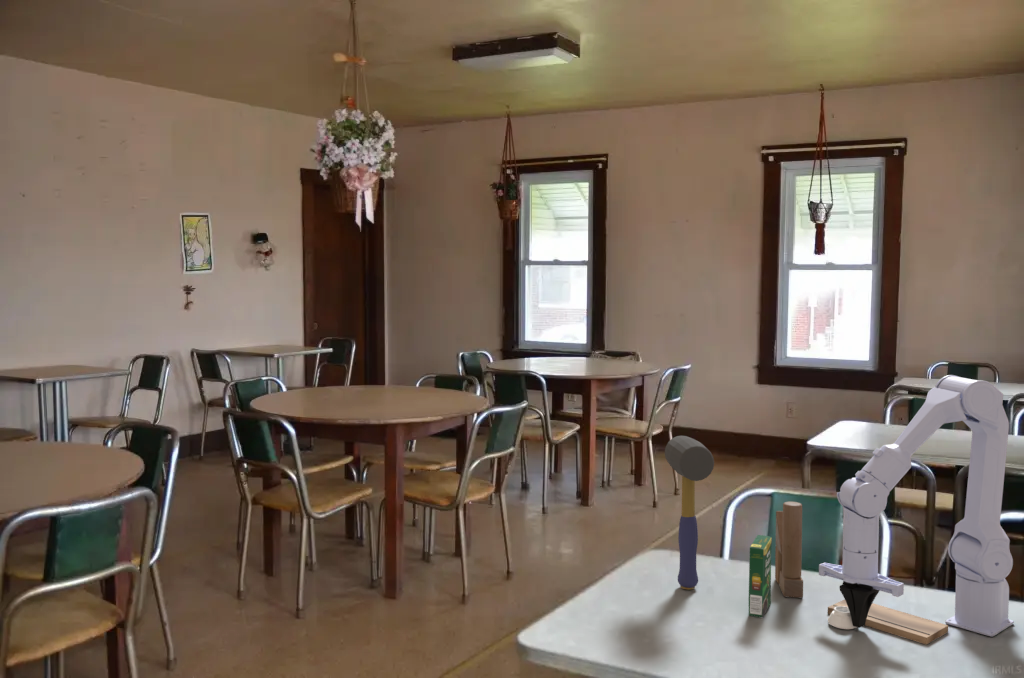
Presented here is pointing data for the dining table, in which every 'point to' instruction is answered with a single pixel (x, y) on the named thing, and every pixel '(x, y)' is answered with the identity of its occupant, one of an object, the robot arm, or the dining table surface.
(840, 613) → the lidless jar
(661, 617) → the dining table surface
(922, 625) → the board
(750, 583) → the coffee box
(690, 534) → the rubber mallet
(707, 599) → the dining table surface
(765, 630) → the dining table surface
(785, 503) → the wooden block
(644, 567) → the dining table surface
